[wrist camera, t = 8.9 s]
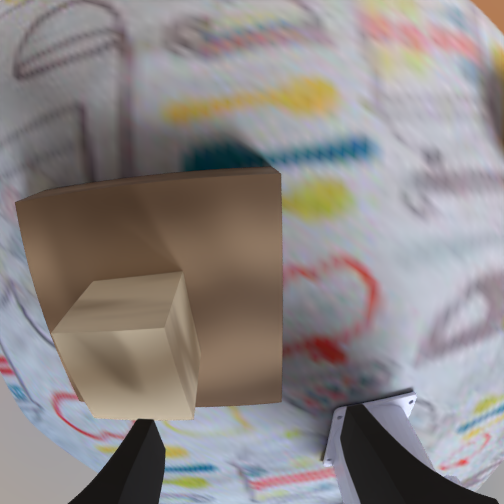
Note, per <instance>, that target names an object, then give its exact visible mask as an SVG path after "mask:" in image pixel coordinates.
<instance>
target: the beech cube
mask: <svg viewBox="0 0 504 504" xmlns="http://www.w3.org/2000/svg"><path fill="white" fill-rule="evenodd" d="M51 334H52V337H53V339H54V341H55V343H56V346H57V348H58V350H59V352H60V354H61V356H62V359H63V361H64V363H65V365H66V367H67V369H68V371H69V373H70V375H71V377H72V379H73V381H74V383H75V385H76V386H77V388H78V390H79V392H80V394H81V396H82V398H83V399H84V401H85V403H86V405H87V406H88V408H89V410H90V412H91V413H92V415H93V417H94V418H100V419H118V420H137V419H138V418H140V419H154V420H194V412H195V403H196V393H197V384H198V375H199V367H200V358H201V350H200V346H199V342H198V338H197V334H196V329H195V325H194V320H193V316H192V312H191V307H190V302H189V298H188V293H187V288H186V284H185V279H184V274H183V271H181V272H172V273H163V274H155V275H146V276H137V277H127V278H118V279H109V280H100V281H93V282H92V283H91V284H90V285H89V287H88V288H87V289H86V290H85V291H84V293H83V294H82V295H81V296H80V297H79V299H78V300H77V301H76V302H75V303H74V305H73V306H72V307H71V308H70V310H69V311H68V312H67V313H66V315H65V316H64V317H63V318H62V320H61V321H60V322H59V324H58V325H57V326H56V327H55V329H54V330H53V331H52V333H51Z"/></svg>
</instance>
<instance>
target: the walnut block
mask: <svg viewBox="0 0 504 504" xmlns="http://www.w3.org/2000/svg"><path fill="white" fill-rule="evenodd" d="M15 205H16V211H17V216H18V222H19V227H20V231H21V236H22V241H23V245H24V249H25V253H26V257H27V261H28V265H29V269H30V273H31V276H32V280H33V283H34V287H35V290H36V293H37V296H38V300H39V303H40V306H41V309H42V312H43V315H44V318H45V320H46V323H47V326H48V329H49V331H50V334H51V333H52V331H53V330H54V329H55V327H56V326H57V325H58V324H59V322H60V321H61V320H62V318H63V317H64V316H65V315H66V313H67V312H68V311H69V310H70V308H71V307H72V306H73V305H74V303H75V302H76V301H77V300H78V299H79V297H80V296H81V295H82V294H83V293H84V291H85V290H86V289H87V288H88V287H89V285H90V284H91V283H92V282H93V281H100V280H109V279H118V278H127V277H137V276H146V275H155V274H163V273H172V272H181V271H183V274H184V279H185V284H186V288H187V293H188V298H189V302H190V307H191V312H192V316H193V320H194V325H195V329H196V334H197V338H198V342H199V346H200V350H201V358H200V367H199V375H198V384H197V393H196V403H195V407H220V406H241V405H256V404H268V403H279V402H282V337H283V266H282V198H281V173H279V172H278V171H277V170H276V169H274V168H273V167H272V166H270V167H247V168H229V169H214V170H200V171H188V172H176V173H166V174H156V175H147V176H138V177H129V178H121V179H114V180H106V181H99V182H92V183H85V184H79V185H72V186H66V187H60V188H54V189H49V190H45V191H42V192H39V193H37V194H34V195H32V196H29V197H27V198H24V199H22V200H19V201H17V202H15ZM51 337H52V334H51ZM52 339H53V337H52ZM53 342H54V344H55V347H56V350H57V352H58V354H59V357H60V359H61V362H62V364H63V366H64V369H65V371H66V373H67V375H68V378H69V380H70V382H71V384H72V386H73V388H74V390H75V392H76V395H77V397H78V399H79V401H83V402H85V401H84V399H83V398H82V396H81V394H80V392H79V390H78V388H77V386H76V385H75V383H74V381H73V379H72V377H71V375H70V373H69V371H68V369H67V367H66V365H65V363H64V361H63V359H62V356H61V354H60V352H59V350H58V348H57V346H56V343H55V341H54V339H53Z"/></svg>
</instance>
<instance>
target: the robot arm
mask: <svg viewBox="0 0 504 504" xmlns="http://www.w3.org/2000/svg"><path fill="white" fill-rule="evenodd" d="M416 398H417V395H416V393H415V392H411V393H407V394H403V395H399V396H394V397H390V398H386V399H381V400H376V401H371V402H366V403H361V404H356V405H350V406H345V407H339V408H337V409H336V410H335V411H334V414H333V419H332V424H331V429H330V434H329V438H328V443H327V447H326V452H325V456H324V460H323V465H324V466H325V467H329V466H333V467H334V470H335V474H336V478H337V481H338V485H339V488H340V492H341V495H342V499H343V503H344V504H499V503H498V501H497V500H496V499H494V498H491V497H488V496H484V495H481V494H478V493H476V492H473V491H471V490H468V489H466V488H464V487H463V486H462V484H461V483H460V481H459V480H458V478H457V477H456V476H449V475H446V476H444V477H443V476H441V475H440V474H438V473H437V472H436V471H435V469H434V467H433V465H432V463H431V461H430V459H429V457H428V455H427V453H426V451H425V449H424V448H423V446H422V444H421V442H420V440H419V438H418V436H417V434H416V432H415V430H414V429H413V427H412V425H411V423H410V421H409V419H408V418H409V415H410V413H411V410H412V408H413V405H414V403H415V400H416ZM165 452H166V449H165V447H164V444H163V442H162V440H161V437H160V435H159V432H158V430H157V427H156V425H155V422H154V419H140V418H138V419H137V420H136V422H135V423H134V425H133V426H132V428H131V430H130V431H129V433H128V434H127V436H126V437H125V439H124V440H123V442H122V443H121V445H120V446H119V447H118V449H117V450H116V452H115V453H114V454H113V456H112V457H111V458H110V460H109V461H108V462H107V464H106V465H105V466H104V467H103V469H102V470H101V471H100V472H99V473H98V475H97V476H96V477H95V478H94V479H93V480H92V482H91V483H90V484H89V485H88V486H87V487H86V488H85V489H84V490H83V491H82V492H81V493H79V494H78V495H77V496H76V497H75V498H74V499H73V500H72V501H70V502H69V503H68V504H158V503H159V498H160V493H161V487H162V482H163V476H164V469H165Z"/></svg>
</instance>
